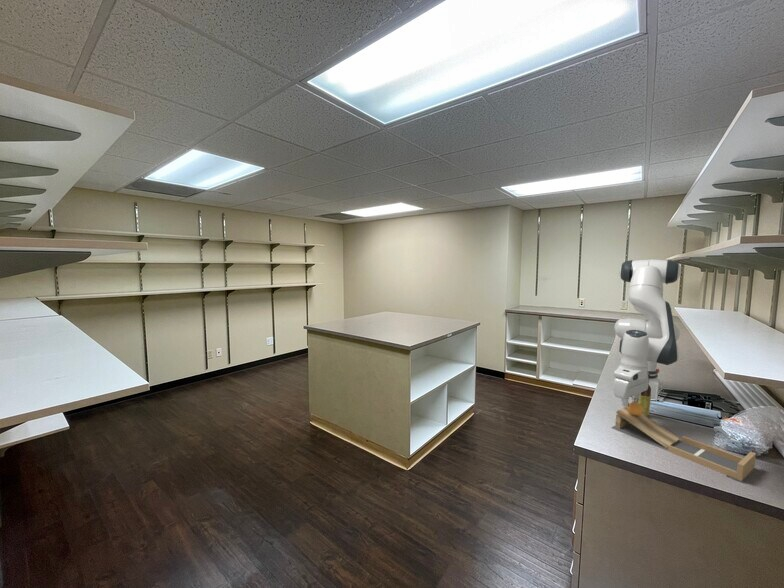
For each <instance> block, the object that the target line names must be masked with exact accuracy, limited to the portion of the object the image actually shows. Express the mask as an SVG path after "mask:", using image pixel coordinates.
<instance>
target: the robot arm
mask: <svg viewBox="0 0 784 588" xmlns="http://www.w3.org/2000/svg"><path fill="white" fill-rule="evenodd" d="M681 273H682V268H681V266H680V263H679V262H678V261H676V260H672V259H667V260H664V259H651V258H650V259H638V260H636V259H635V260H630V259H629V260H625V261H623V262H622V264H621V266H620V267H619V276H620V280H622V281H624V282H627V283H629V287H628V300H629V302H630V303H631V305H632V306H633V308H634V309H635V311H637V313H640V314H641V315H644V316H646V317H647V319H643V318H633V317H631V318H630V317H628V318H627V317H626V318H619V319H618V320H616V322H615V323H614V327H613V329H614V330H613V331H614V332H615V334H616V335H617V337H618V338H620V341H619V350H618V352H619V353H620V354H621V358H620V361H619V365H618V367H617V368H616V370H614V372H613V377H615V378H614V380H613V394H614V397H615V398H619V399H621V402H622V407H623V408H625V407H629V404H630V402H629V399H630V398H631V397H633V398H631V403H632V402H635V403H638V402H639V398H640V395H641V392H644V391H646V390H647V389H648V384H649V386H650V387H651V399H660V400H663V399H664V398H662V397H660V396H658V394H659V393H661V390H663V386H664V385H663V382H662V381H661V380H660V379H659V378H658V377H659V375H658V374H659V373H660V369H659V368H657V366H658V364H661V365H665V366H669V365H672V364H674V363H676V362H677V361H678V359H679V357H680V350H679V346H678V344H677V341H678V340H679V338H680V336H681V331H680V328H679V326H678V325H677V324H676V323H674V318H673V313H672V308H671V305H670V303H669V302H668V301H666V300H664V298H663V297H664V284H665V285H668V284H674V283H675V282H677V281H678V279H679V278H680V276H681ZM647 372H648V373H649V374H650V377H649V383H648V374H647ZM664 400H665V399H664ZM664 400H663V401H664Z"/></svg>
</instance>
